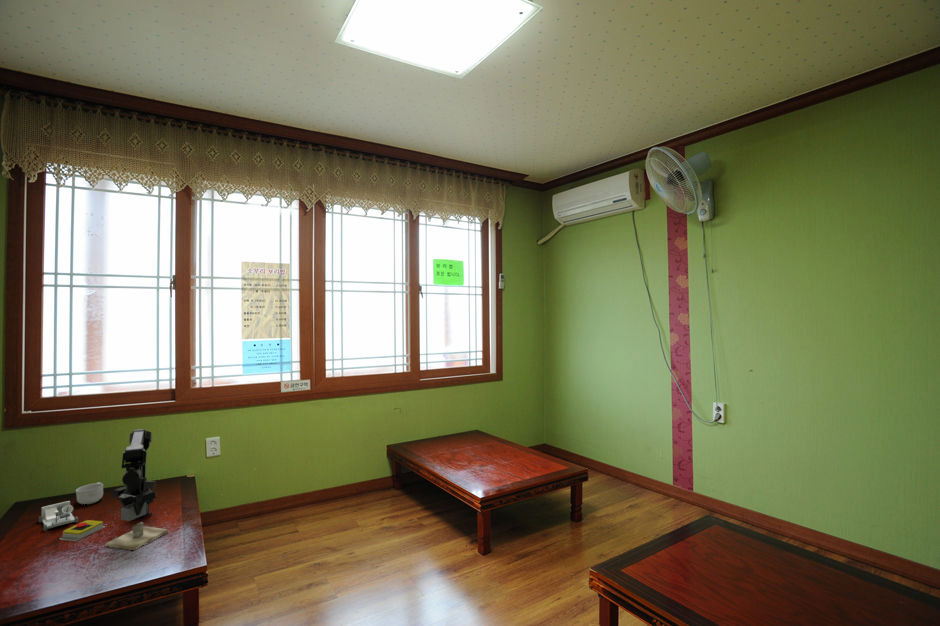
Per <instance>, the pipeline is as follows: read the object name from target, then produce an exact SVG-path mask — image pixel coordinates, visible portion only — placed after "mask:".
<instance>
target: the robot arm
mask: <svg viewBox="0 0 940 626" xmlns="http://www.w3.org/2000/svg"><path fill="white" fill-rule="evenodd" d="M128 439H129V441H128V442H129V445H128V446H126V447H125V450H124V451H123V453H122V458H121V469H125V472H124V474H123V476H122V480H121V481H122V483H123V485H125V486H121V487H118V488H114V490H113V491H112V492H111V498H115V499H116V498H117V501H119V503H120V504H121V505H122V507H124V506H126V505H129V504H132V503H133V506H134V509H135V512H136V515H137V516H138V515H140V513H141V510H142V508H143V505H144V503H145V502H146V514H145V515H143V516H140V517H138V518H135V519H134V520H137V519H139V521H140V519H141V520H143V519H145V518H147V517H150V516H152V514H153V513H152V512H150V504H152V503H153V502H154V499H156V498H157V492H156V491H154V489H155V487H156V484H157V481H154V480H147V458H148V457H147V454H148V452H147V451H148V449H149V448H150V446H151V443H152V442H153V441H152V440H153V433H152V432H151V431H148V430H147V429H145V428H143V429H142V428H141V429H135V430H132V432H131V433H130V434H129V438H128ZM142 518H143V519H142Z"/></svg>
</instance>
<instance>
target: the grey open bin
mask: <svg viewBox="0 0 940 626" xmlns="http://www.w3.org/2000/svg"><path fill="white" fill-rule="evenodd" d="M145 514H146V502H145V503H144V505H143V508H142V510H141V513H140V515H138V516H137V515H136V512H135V509H134V506H133V503H132V504H129V505H126V506H124V507H123V506H122V507H120V520H123V521H127V522H130V521H132V520H136V519H135V518H138V517H140V516H143V515H145Z"/></svg>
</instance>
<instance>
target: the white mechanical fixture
mask: <svg viewBox="0 0 940 626" xmlns="http://www.w3.org/2000/svg"><path fill="white" fill-rule="evenodd" d="M73 511H74V507H73V505H71V501H70V500H68V501H67V500H66V501H62V502H59V503H54V504H49V505H46V506H42V507H41V516H39V517H38V522H39V524H42V523H43V525H42V527H43V529H42V530H43V532H44V531H45V532H47V531H48V529H53V528H56V527H59V526H62V525H66V524H67V525H68V524H70V523H71V524H72V523H75V522H76V523H75V524H79V518H78V517H79V516H74V515H73V514H74V513H73ZM41 522H42V523H41Z"/></svg>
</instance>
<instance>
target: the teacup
mask: <svg viewBox="0 0 940 626" xmlns="http://www.w3.org/2000/svg"><path fill="white" fill-rule="evenodd" d="M75 494H76V495H75V496H76V501H77V503H78V504H81V505H83V504H84V505H85V504H87V505H91V504H95V503H97V502H99V501H100V499H102V497H103V496H104V484H103V483H102V482H99V481H98V482H96V483H90V484H86V485H82V486H80V487H78V488H76V489H75Z"/></svg>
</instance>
